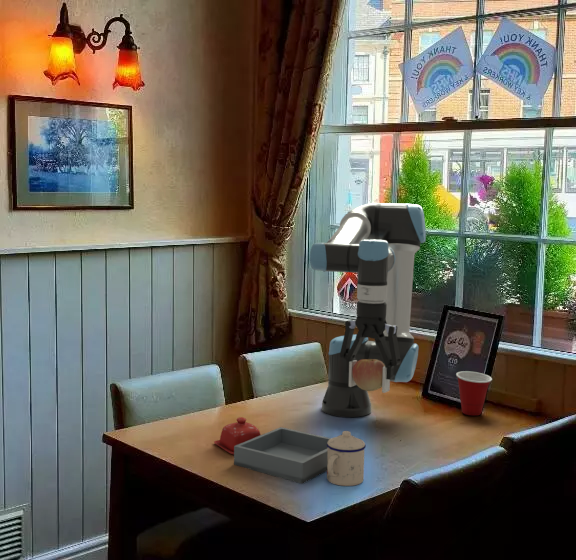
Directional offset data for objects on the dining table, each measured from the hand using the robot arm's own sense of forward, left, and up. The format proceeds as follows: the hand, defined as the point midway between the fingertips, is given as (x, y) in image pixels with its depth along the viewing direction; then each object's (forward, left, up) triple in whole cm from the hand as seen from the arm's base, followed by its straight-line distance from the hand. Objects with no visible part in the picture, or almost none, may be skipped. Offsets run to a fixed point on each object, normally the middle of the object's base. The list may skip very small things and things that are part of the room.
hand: (368, 388), depth 208 cm
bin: (-12, -17, -18) cm, 27 cm away
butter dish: (-29, -16, -18) cm, 37 cm away
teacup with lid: (+5, -20, -18) cm, 27 cm away
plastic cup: (+7, +55, -18) cm, 58 cm away
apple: (0, 0, -1) cm, 1 cm away
